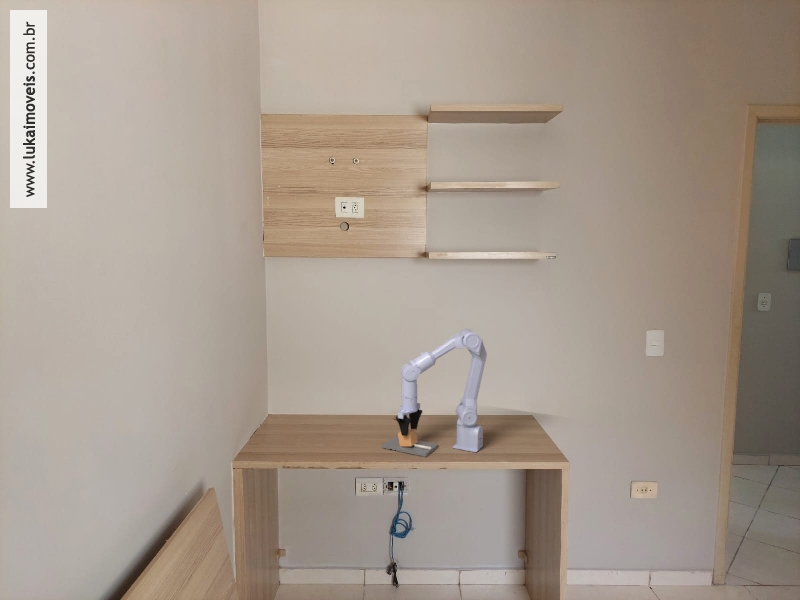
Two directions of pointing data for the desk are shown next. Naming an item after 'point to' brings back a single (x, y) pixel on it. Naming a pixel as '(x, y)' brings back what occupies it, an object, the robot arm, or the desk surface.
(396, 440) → the plate
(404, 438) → the orange cube
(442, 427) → the desk surface
